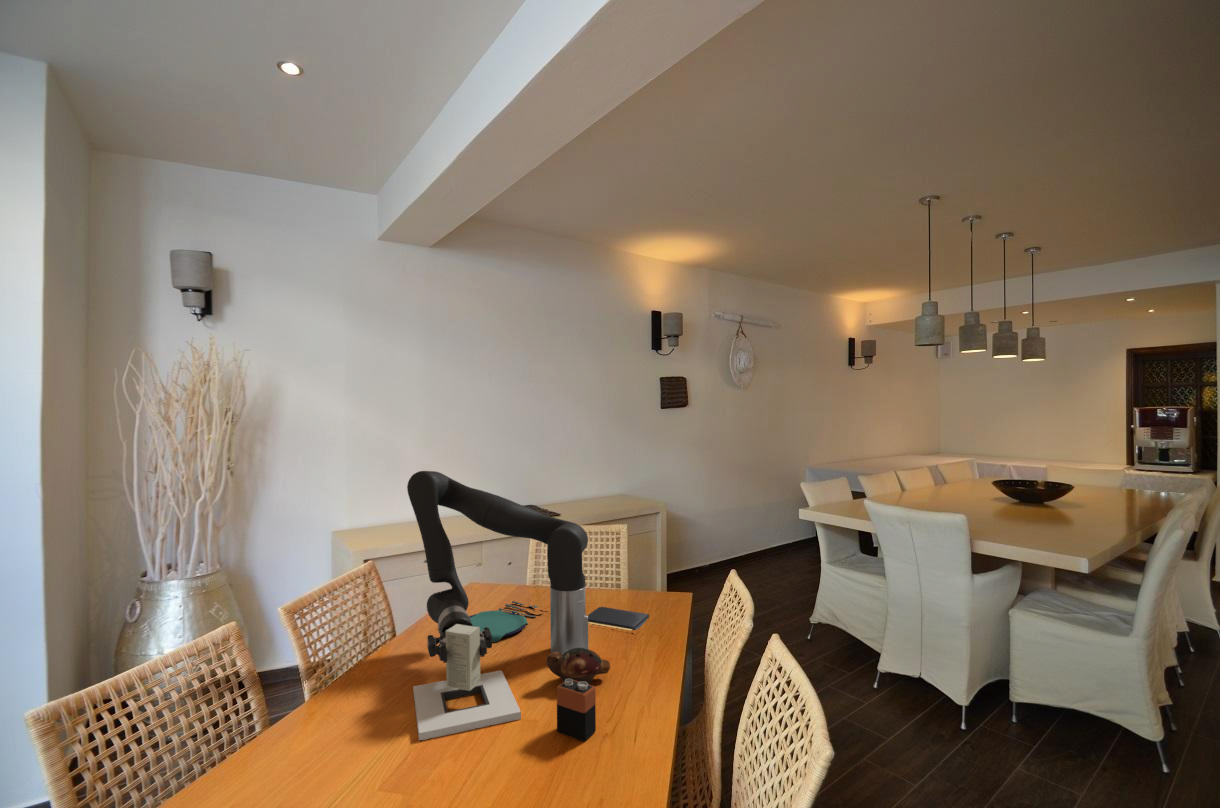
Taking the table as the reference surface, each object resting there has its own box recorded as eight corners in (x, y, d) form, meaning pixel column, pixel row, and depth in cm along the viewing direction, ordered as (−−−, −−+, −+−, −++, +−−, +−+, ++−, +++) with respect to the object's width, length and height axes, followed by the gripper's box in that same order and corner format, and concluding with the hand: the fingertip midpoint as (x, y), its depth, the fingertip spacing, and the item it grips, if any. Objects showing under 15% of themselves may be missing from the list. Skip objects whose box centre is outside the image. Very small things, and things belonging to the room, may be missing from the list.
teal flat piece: (441, 634, 161) (442, 626, 161) (509, 604, 187) (510, 597, 187) (495, 649, 151) (495, 640, 151) (559, 615, 177) (559, 608, 177)
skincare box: (481, 682, 123) (481, 626, 123) (469, 692, 119) (470, 634, 119) (456, 677, 125) (457, 622, 125) (444, 686, 121) (444, 630, 121)
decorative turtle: (540, 680, 133) (542, 645, 134) (600, 673, 139) (601, 639, 140) (552, 697, 124) (553, 659, 125) (615, 689, 130) (616, 653, 131)
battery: (584, 743, 108) (584, 690, 108) (555, 732, 112) (555, 682, 112) (596, 732, 112) (596, 681, 112) (568, 722, 115) (568, 673, 115)
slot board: (501, 676, 135) (501, 670, 135) (520, 718, 117) (520, 711, 117) (413, 693, 128) (413, 686, 128) (418, 741, 109) (418, 733, 109)
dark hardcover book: (656, 613, 173) (635, 630, 159) (656, 619, 173) (635, 637, 159) (599, 603, 182) (574, 619, 168) (599, 609, 182) (574, 625, 168)
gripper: (423, 614, 133) (429, 642, 118) (485, 607, 138) (498, 632, 123) (423, 646, 133) (429, 678, 118) (485, 637, 138) (498, 667, 123)
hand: (464, 655), depth 120 cm, fingers closed on skincare box, 7 cm apart
